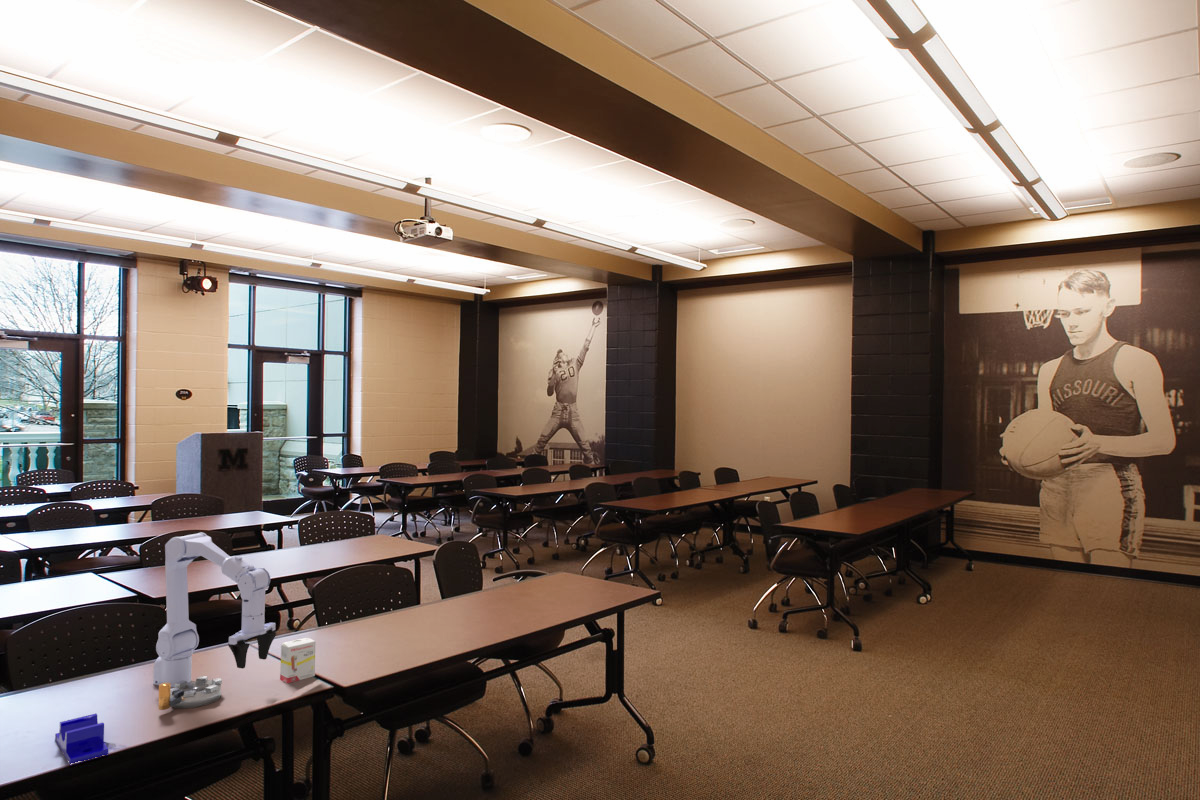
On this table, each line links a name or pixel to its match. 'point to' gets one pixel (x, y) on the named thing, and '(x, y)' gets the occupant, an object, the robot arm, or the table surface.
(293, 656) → the ink box
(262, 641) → the robot arm
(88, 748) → the mounting bracket
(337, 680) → the table surface
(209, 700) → the grey toy battleship
